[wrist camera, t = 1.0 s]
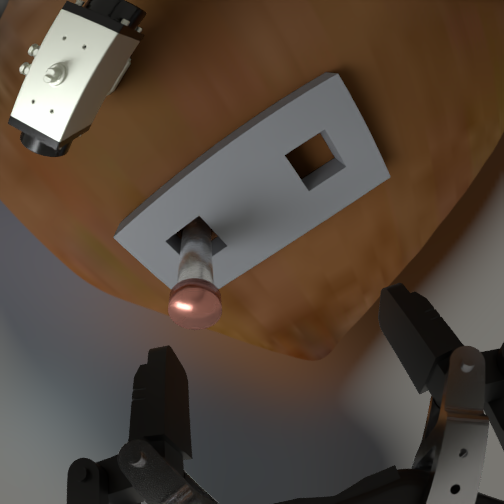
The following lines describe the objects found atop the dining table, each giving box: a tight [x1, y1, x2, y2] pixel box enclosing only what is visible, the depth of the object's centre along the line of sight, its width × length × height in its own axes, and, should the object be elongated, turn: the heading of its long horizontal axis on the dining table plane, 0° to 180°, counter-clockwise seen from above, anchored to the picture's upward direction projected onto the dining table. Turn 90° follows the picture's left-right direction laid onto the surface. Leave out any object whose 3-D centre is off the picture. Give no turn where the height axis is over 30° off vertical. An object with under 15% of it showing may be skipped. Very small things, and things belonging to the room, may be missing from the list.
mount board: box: [113, 72, 390, 290], centre depth 30 cm, size 26×12×3 cm, turn 125°
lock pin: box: [168, 216, 222, 330], centre depth 28 cm, size 4×4×12 cm
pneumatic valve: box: [8, 0, 146, 157], centre depth 17 cm, size 6×12×12 cm, turn 144°
